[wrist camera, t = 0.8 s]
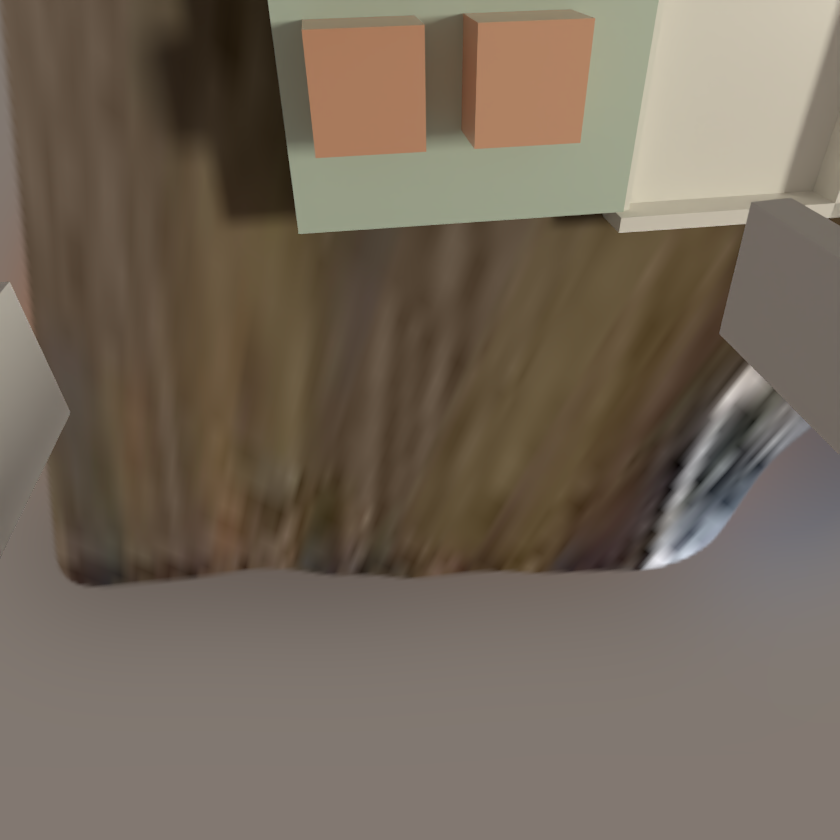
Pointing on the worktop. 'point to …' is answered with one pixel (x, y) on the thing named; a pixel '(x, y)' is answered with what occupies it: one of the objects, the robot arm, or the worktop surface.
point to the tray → (736, 113)
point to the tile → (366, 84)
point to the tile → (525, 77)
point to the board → (445, 142)
